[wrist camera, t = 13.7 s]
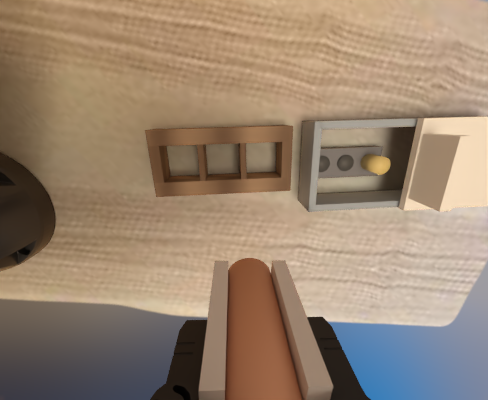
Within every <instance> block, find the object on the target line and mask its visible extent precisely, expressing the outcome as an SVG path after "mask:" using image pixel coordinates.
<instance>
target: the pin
mask: <svg viewBox="0 0 488 400" xmlns="http://www.w3.org/2000/svg"><path fill="white" fill-rule="evenodd" d="M225 400H302V396H301V392H300V388H299V384H298V380H297V377H296V373H295V369H294V365H293V361H292V357H291V353H290V349H289V345H288V341H287V337H286V333H285V329H284V325H283V321H282V317H281V313H280V309H279V305H278V301H277V297H276V293H275V289H274V285H273V281H272V277H271V273H270V270H269V268H268V266H267V265H266V264H265V263H264V262H262V261H260V260H258V259H254V258H245V259H241V260H239V261H237V262H235V263H234V264H233V265H232V266H231V267H230V268H229V270H228V303H227V341H226V378H225Z"/></svg>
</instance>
